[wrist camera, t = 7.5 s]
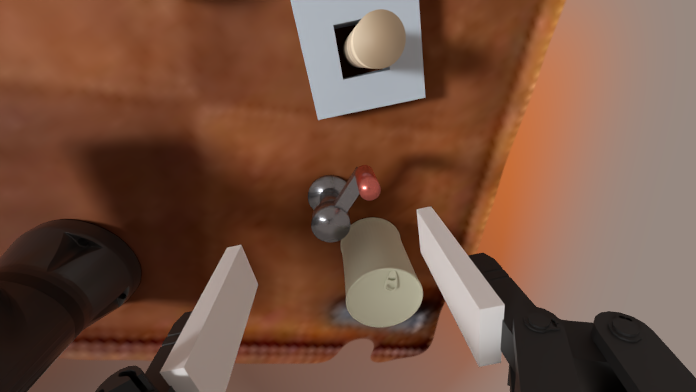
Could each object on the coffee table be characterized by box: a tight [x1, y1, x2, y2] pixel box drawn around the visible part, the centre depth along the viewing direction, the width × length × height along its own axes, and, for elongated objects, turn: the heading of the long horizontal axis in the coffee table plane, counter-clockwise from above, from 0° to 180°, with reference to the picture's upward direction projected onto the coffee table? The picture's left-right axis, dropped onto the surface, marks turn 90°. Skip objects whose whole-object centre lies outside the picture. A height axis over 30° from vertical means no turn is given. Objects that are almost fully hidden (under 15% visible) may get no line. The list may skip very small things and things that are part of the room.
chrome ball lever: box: [311, 165, 381, 242], centre depth 30 cm, size 4×10×6 cm, turn 148°
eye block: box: [291, 0, 425, 120], centre depth 30 cm, size 12×12×4 cm
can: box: [341, 217, 423, 327], centre depth 38 cm, size 9×9×12 cm
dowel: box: [343, 9, 406, 69], centre depth 26 cm, size 4×4×14 cm
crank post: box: [308, 175, 347, 210], centre depth 37 cm, size 6×6×6 cm
